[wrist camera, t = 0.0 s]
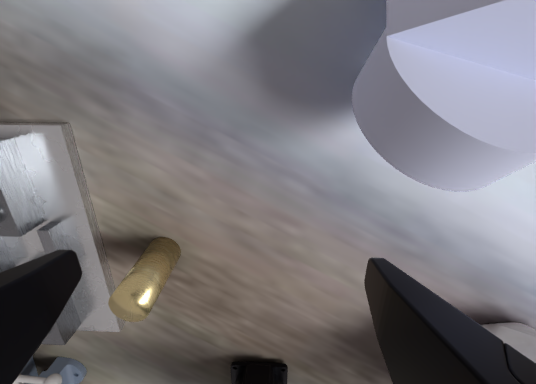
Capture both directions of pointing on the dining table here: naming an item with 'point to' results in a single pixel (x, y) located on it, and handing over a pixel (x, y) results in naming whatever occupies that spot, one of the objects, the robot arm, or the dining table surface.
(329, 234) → the dining table surface
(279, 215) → the dining table surface
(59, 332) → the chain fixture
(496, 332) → the vase
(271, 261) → the dining table surface
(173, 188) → the dining table surface
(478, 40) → the wedge on round base
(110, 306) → the pin
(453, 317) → the robot arm
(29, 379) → the vise
